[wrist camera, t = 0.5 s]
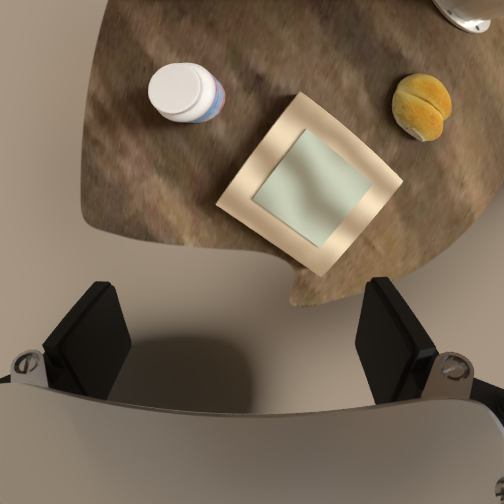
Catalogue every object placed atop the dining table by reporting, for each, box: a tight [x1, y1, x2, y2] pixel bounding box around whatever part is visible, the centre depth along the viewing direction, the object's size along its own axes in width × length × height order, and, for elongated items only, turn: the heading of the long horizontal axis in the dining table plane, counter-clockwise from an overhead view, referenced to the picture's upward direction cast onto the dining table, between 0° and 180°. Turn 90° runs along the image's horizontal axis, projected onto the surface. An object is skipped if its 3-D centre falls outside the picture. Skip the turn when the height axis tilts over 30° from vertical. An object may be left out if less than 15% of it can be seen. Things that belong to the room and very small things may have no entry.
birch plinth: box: [216, 92, 403, 277], centre depth 34 cm, size 16×16×3 cm
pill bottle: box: [148, 63, 225, 123], centre depth 26 cm, size 6×6×11 cm
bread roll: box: [392, 74, 451, 142], centre depth 28 cm, size 8×9×4 cm
